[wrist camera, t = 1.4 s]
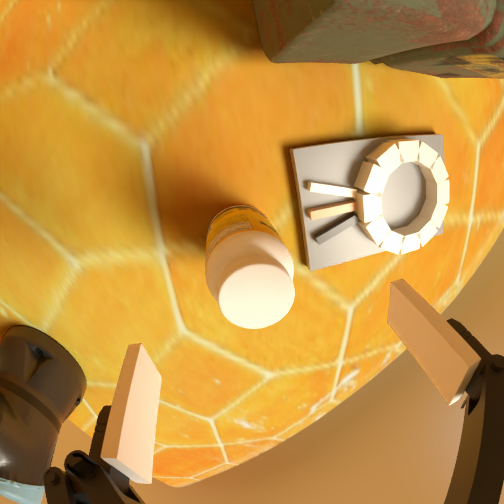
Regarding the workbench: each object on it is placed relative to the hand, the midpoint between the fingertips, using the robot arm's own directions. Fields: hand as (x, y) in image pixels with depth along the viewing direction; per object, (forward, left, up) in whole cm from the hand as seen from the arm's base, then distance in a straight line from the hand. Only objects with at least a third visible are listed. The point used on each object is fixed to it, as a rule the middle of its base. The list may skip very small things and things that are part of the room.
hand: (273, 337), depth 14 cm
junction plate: (+15, +1, -15) cm, 21 cm away
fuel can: (+15, +31, -15) cm, 38 cm away
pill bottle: (0, 0, -15) cm, 15 cm away
